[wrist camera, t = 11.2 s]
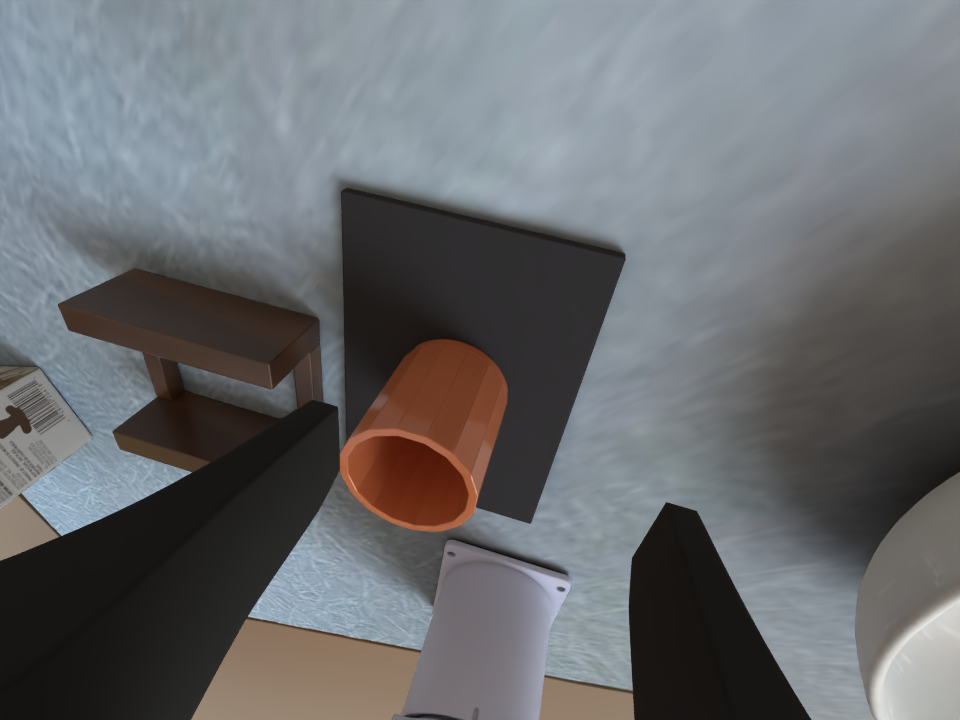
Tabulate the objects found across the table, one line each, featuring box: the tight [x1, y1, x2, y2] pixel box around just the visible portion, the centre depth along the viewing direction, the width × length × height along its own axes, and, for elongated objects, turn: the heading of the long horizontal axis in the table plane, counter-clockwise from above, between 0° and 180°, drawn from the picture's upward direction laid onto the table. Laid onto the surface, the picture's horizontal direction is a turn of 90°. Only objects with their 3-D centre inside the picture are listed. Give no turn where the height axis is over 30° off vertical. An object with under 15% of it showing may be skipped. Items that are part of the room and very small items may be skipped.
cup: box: [340, 339, 508, 532], centre depth 20 cm, size 5×5×6 cm
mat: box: [341, 188, 625, 524], centre depth 22 cm, size 16×11×1 cm
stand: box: [58, 269, 323, 472], centre depth 24 cm, size 9×10×4 cm
